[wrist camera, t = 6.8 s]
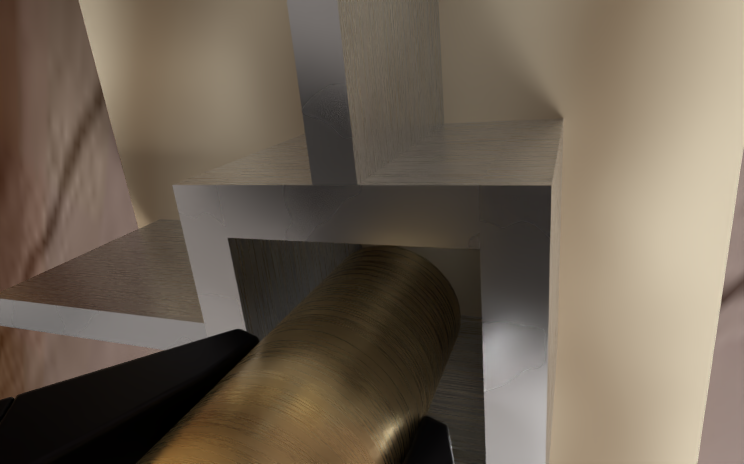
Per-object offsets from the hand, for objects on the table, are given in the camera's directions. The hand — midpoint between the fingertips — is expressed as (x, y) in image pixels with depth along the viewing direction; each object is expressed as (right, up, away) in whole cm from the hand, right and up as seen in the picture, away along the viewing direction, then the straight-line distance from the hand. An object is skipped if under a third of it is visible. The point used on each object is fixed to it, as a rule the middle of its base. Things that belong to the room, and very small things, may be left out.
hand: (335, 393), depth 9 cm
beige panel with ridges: (+1, +5, +7) cm, 9 cm away
